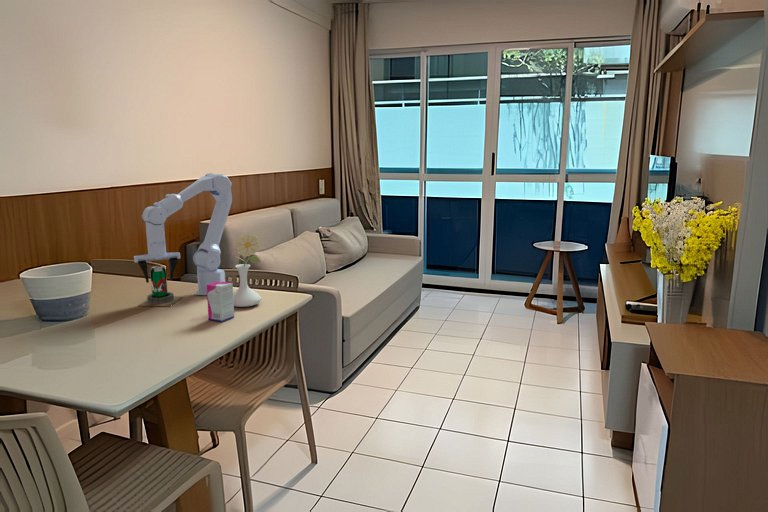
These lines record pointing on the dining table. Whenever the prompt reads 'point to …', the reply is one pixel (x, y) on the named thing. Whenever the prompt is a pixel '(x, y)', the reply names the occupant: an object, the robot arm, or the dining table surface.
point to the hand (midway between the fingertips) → (159, 280)
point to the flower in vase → (244, 293)
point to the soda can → (158, 282)
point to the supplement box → (220, 301)
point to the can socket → (161, 300)
